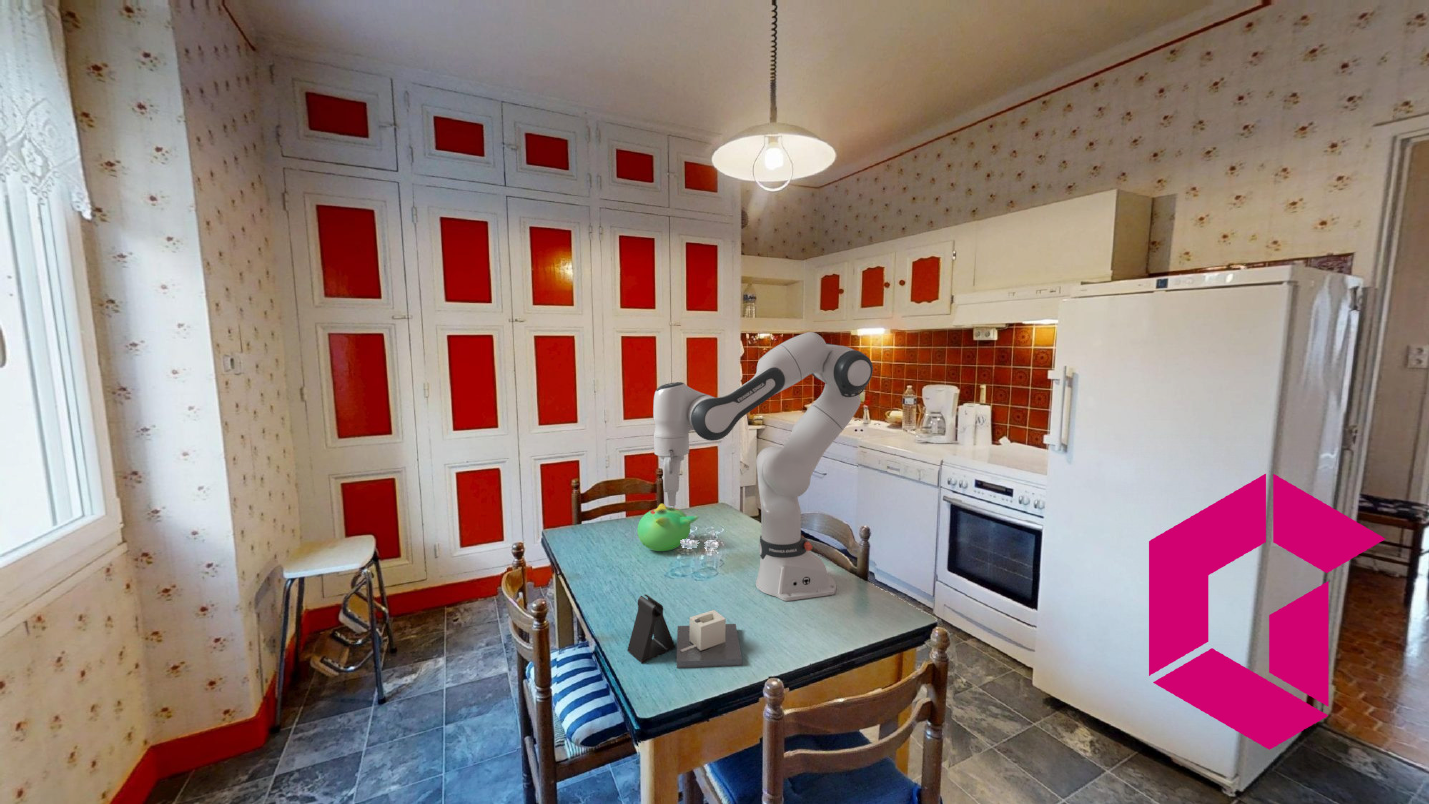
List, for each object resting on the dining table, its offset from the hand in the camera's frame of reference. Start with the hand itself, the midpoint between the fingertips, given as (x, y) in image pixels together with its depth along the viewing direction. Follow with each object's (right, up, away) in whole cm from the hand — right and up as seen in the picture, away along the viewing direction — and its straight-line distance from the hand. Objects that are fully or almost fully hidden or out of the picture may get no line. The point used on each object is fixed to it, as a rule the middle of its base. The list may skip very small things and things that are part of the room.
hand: (672, 499), depth 133 cm
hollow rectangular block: (+9, -29, -15) cm, 34 cm away
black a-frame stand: (-4, -31, -16) cm, 35 cm away
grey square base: (+9, -31, -15) cm, 36 cm away
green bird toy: (-6, -25, +42) cm, 49 cm away
